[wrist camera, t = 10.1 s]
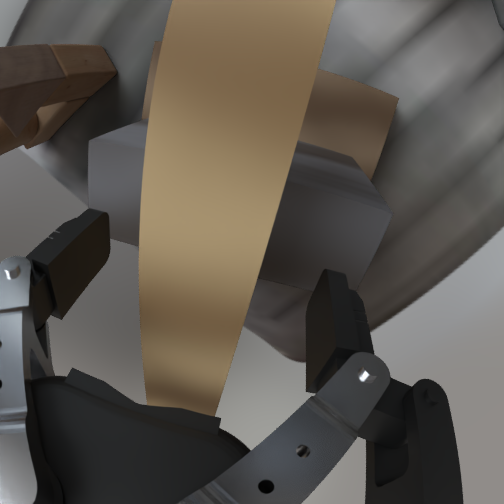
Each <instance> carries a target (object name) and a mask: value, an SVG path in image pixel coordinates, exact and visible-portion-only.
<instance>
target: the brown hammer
mask: <svg viewBox="0 0 504 504" xmlns="http://www.w3.org/2000/svg"><path fill="white" fill-rule="evenodd" d="M116 74H117V70H116V69H115V67H114V65H113V64H112V62H111V60H110V59H109V57H108V55H107V54H106V52H105V50H104V49H103V47H102V46H100V45H80V44H51V45H48V44H34V45H18V46H7V47H0V155H2V154H4V153H6V152H8V151H10V150H13V149H15V148H17V147H19V146H22V145H24V146H25V148H26V149H29V148H31V147H34V146H36V145H38V144H40V143H43V142H45V141H48V140H49V139H50V138H51V137H52V136H53V135H54V133H55V132H56V131H57V130H58V129H59V128H60V127H61V126H62V125H63V124H64V123H65V122H66V121H67V120H68V119H69V118H70V116H71V115H72V114H73V113H74V112H75V111H76V110H77V109H78V108H79V107H81V106H82V105H83V104H84V103H85V102H86V101H87V100H88V99H89V96H92V95H93V94H94V93H95V92H97V91H98V90H99V89H100V88H101V87H102V86H103V85H104V84H106V83H107V82H108V81H109V80H110V79H111V78H113V77H114V76H115V75H116Z"/></svg>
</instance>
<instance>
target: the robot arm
mask: <svg viewBox="0 0 504 504" xmlns="http://www.w3.org/2000/svg"><path fill="white" fill-rule="evenodd" d="M109 254H110V222H109V214H108V213H107V212H104V211H100V210H96V209H92V208H89V209H87V210H86V211H85V212H84V213H82V214H81V215H80V216H79V217H78V218H74V219H72V220H70V221H67V222H65V223H63V224H62V225H61V226H60V227H59V228H58V229H56V231H55V232H53V233H52V234H51V235H49V238H46V239H45V240H44V241H43V242H42V243H40V244H39V245H38V246H37V247H36V248H35V249H34V250H33V251H32V252H31V253H29V254H28V255H27V256H26V257H22V256H13V257H9V258H7V259H5V260H3V261H2V262H1V263H0V504H301V503H302V502H303V501H304V500H305V499H306V498H307V497H308V496H309V495H310V494H311V493H312V492H313V491H314V490H315V488H316V487H317V486H318V485H319V484H320V483H321V482H322V481H323V480H324V478H325V477H326V476H327V475H328V474H329V473H330V471H331V470H332V469H333V468H334V467H335V465H336V464H337V463H338V462H339V461H340V459H341V458H342V457H343V456H344V454H345V453H346V452H347V450H348V449H349V448H350V446H351V445H352V444H353V442H354V441H355V440H356V438H357V437H361V438H363V439H366V495H365V497H366V498H365V504H463V494H462V493H463V492H462V482H461V472H460V464H459V457H458V450H457V444H456V438H455V433H454V427H453V422H452V417H451V412H450V407H449V403H448V399H447V395H446V393H445V392H444V390H443V389H442V388H441V386H440V385H439V384H437V383H436V382H434V381H432V380H429V379H421V380H419V381H418V382H417V383H416V384H414V385H413V386H412V387H411V386H409V385H406V384H404V383H402V382H399V381H397V380H395V379H393V378H391V377H390V372H389V369H388V367H387V366H386V364H385V363H384V362H383V361H382V360H381V359H380V358H378V357H377V356H375V355H374V350H373V345H372V340H371V335H370V330H369V326H368V324H367V317H366V314H365V308H364V304H363V301H362V299H361V298H360V297H359V295H358V294H357V292H356V291H355V290H351V289H349V287H348V282H347V277H346V274H345V273H341V272H337V271H333V270H329V269H324V270H323V272H322V274H321V276H320V278H319V280H318V283H317V285H316V287H315V289H314V292H313V294H312V296H311V298H310V301H309V303H308V306H307V311H306V392H310V393H316V395H315V396H311V397H310V398H309V399H308V400H307V401H306V402H305V403H304V404H303V405H302V406H301V407H300V408H299V409H298V410H296V411H295V412H294V413H293V414H292V415H291V416H290V417H289V418H288V419H287V420H286V421H285V422H284V423H283V424H282V425H280V426H279V427H278V428H277V429H276V430H275V431H274V432H273V433H272V434H270V435H269V436H268V437H267V438H266V439H265V440H263V441H262V442H261V443H260V444H259V445H258V446H256V447H255V448H254V449H253V450H252V451H251V450H250V449H249V448H247V446H246V445H245V444H243V443H242V442H241V441H240V440H238V439H237V438H236V437H235V436H233V435H231V434H230V433H228V432H227V431H224V430H222V429H220V428H219V426H220V421H221V418H218V417H214V416H210V415H206V414H202V413H198V412H194V411H191V410H187V409H183V408H175V407H162V406H151V405H141V404H138V403H135V402H134V401H132V400H130V399H129V398H127V397H126V396H124V395H123V394H122V393H120V392H119V391H117V390H116V389H114V388H113V387H111V386H110V385H109V384H107V383H106V382H104V381H102V380H99V379H97V378H95V377H92V376H90V375H88V374H85V373H83V372H81V371H79V370H76V369H74V368H72V369H71V371H70V372H69V374H68V376H67V377H65V376H55V373H54V370H53V365H52V357H51V348H50V338H49V326H48V322H47V319H48V318H49V316H50V315H52V316H54V317H56V318H59V319H61V320H62V319H63V317H64V316H65V315H66V313H67V312H68V310H69V309H70V308H71V306H72V305H73V304H74V303H75V301H76V300H77V298H78V297H79V296H80V295H81V293H82V292H83V291H84V290H85V288H86V287H87V286H88V284H89V283H90V282H91V281H92V279H93V278H94V277H95V276H96V274H97V273H98V272H99V271H100V270H101V268H102V267H103V266H104V265H105V263H106V262H107V260H108V257H109Z"/></svg>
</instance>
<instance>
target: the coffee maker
mask: <svg viewBox="0 0 504 504" xmlns="http://www.w3.org/2000/svg"><path fill="white" fill-rule="evenodd" d="M492 3H493V6H494V9H495V12H496V15H497V18H498V22H499V25H500V26H501V27H502V28H503V29H504V0H492Z"/></svg>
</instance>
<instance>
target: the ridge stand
mask: <svg viewBox="0 0 504 504" xmlns="http://www.w3.org/2000/svg"><path fill="white" fill-rule="evenodd" d="M161 46H162V42H161V41H155V44H154V48H153V53H152V58H151V63H150V69H149V74H148V80H147V86H146V93H145V99H144V106H143V113H142V120H141V121H138V122H136V123H133V124H130V125H127V126H125V127H122V128H119V129H116V130H114V131H111V132H109V133H106V134H104V135H101V136H99V137H96V138H94V139H92V140H89V149H88V207H89V208H92V209H96V210H100V211H104V212H107V213H108V214H109V222H110V238H111V239H114V240H118V241H121V242H125V243H128V244H132V245H135V246H139V231H140V208H141V191H142V178H143V166H144V156H145V146H146V137H147V129H148V121H149V114H150V107H151V100H152V94H153V88H154V82H155V77H156V71H157V66H158V61H159V56H160V51H161ZM398 100H399V98H397V97H395V96H393V95H390V94H388V93H385V92H383V91H381V90H378V89H376V88H373V87H370V86H368V85H365V84H363V83H360V82H357V81H354V80H351V79H349V78H346V77H343V76H340V75H337V74H334V73H330V72H327V71H324V70H321V69H317V73H316V76H315V80H314V84H313V87H312V91H311V94H310V98H309V102H308V105H307V109H306V112H305V116H304V119H303V123H302V127H301V130H300V134H299V137H298V141H297V144H296V148H295V151H294V155H293V158H292V162H291V165H290V169H289V172H288V176H287V179H286V183H285V186H284V189H283V193H282V196H281V200H280V203H279V207H278V210H277V213H276V217H275V220H274V224H273V227H272V231H271V234H270V237H269V241H268V244H267V247H266V251H265V254H264V258H263V261H262V264H261V268H260V271H259V274H258V278H261V279H265V280H269V281H273V282H277V283H281V284H285V285H289V286H293V287H297V288H301V289H305V290H309V291H314V289H315V287H316V285H317V283H318V280H319V278H320V276H321V274H322V272H323V270H324V269H329V270H333V271H337V272H341V273H345V274H346V277H347V282H348V287H349V289H351V290H355V291H356V290H357V288H358V286H359V284H360V282H361V281H362V279H363V277H364V275H365V273H366V271H367V269H368V267H369V265H370V263H371V261H372V259H373V257H374V255H375V253H376V251H377V249H378V246H379V244H380V242H381V240H382V238H383V236H384V234H385V232H386V229H387V227H388V225H389V223H390V221H391V218H392V216H393V212H392V211H391V209H390V208H389V207H388V205H387V204H386V202H385V201H384V199H383V198H382V196H381V195H380V194H379V192H378V191H377V189H376V188H375V187H374V185H373V184H372V182H371V179H372V177H373V174H374V171H375V168H376V166H377V163H378V160H379V157H380V155H381V152H382V149H383V146H384V143H385V140H386V137H387V134H388V131H389V128H390V125H391V122H392V119H393V116H394V113H395V110H396V107H397V103H398Z"/></svg>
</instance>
